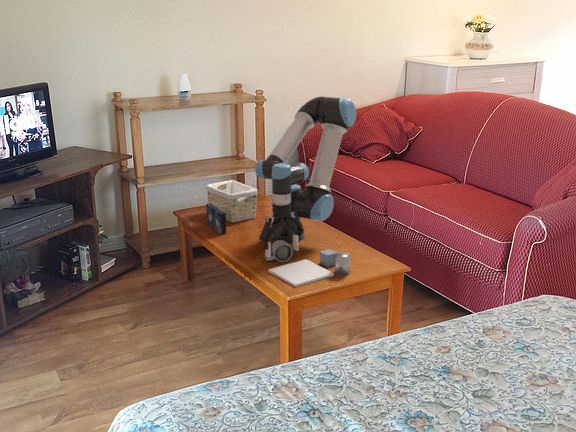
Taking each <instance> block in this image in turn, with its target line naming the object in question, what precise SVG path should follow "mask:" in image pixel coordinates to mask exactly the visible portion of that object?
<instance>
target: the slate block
mask: <svg viewBox="0 0 576 432" xmlns="http://www.w3.org/2000/svg"><path fill="white" fill-rule="evenodd" d="M336 253H338V251H335V250H332V249H330V248H329V249H325V250H321V251H319V264H320V265H323V266H325V267H326V268H328V267H333V266H335V254H336Z"/></svg>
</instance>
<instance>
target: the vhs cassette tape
mask: <svg viewBox="0 0 576 432" xmlns="http://www.w3.org/2000/svg"><path fill="white" fill-rule="evenodd" d="M205 206H206V209H205V210H206V211H205V212H206V225H208V226H209V227H211V228H212V229H213V230H214V231H216V232H217V233H218V234H220V235H227V220H226V213H224V212H223V211H221V210H220V209H219V208H217V207H216V206H214V205H213V204H211V203H209V202H208V203H205Z"/></svg>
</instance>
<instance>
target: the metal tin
mask: <svg viewBox="0 0 576 432" xmlns="http://www.w3.org/2000/svg"><path fill="white" fill-rule="evenodd" d="M351 258H352V256H351V253H348V252H337V253H336V254H335V265H334V274H336V275H338V276H347V275H350V274H351V262H352V261H351Z"/></svg>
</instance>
